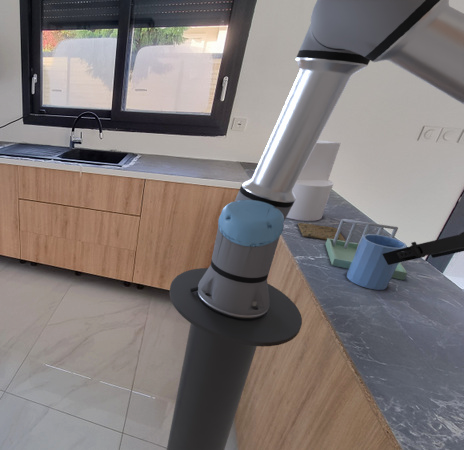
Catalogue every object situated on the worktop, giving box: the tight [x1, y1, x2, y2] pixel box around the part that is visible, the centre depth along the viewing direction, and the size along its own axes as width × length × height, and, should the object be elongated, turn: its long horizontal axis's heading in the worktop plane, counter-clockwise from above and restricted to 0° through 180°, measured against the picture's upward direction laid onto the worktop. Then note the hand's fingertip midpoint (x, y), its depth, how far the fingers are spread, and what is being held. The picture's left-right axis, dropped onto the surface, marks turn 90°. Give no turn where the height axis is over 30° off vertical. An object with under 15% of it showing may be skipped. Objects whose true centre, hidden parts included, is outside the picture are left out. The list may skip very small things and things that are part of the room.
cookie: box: [297, 222, 347, 241], centre depth 109 cm, size 12×12×1 cm
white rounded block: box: [286, 139, 341, 222], centre depth 122 cm, size 17×17×28 cm
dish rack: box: [324, 218, 408, 281], centre depth 90 cm, size 15×15×10 cm
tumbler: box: [346, 233, 408, 291], centre depth 80 cm, size 8×8×12 cm
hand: (408, 255), depth 73 cm, fingers open, 13 cm apart
